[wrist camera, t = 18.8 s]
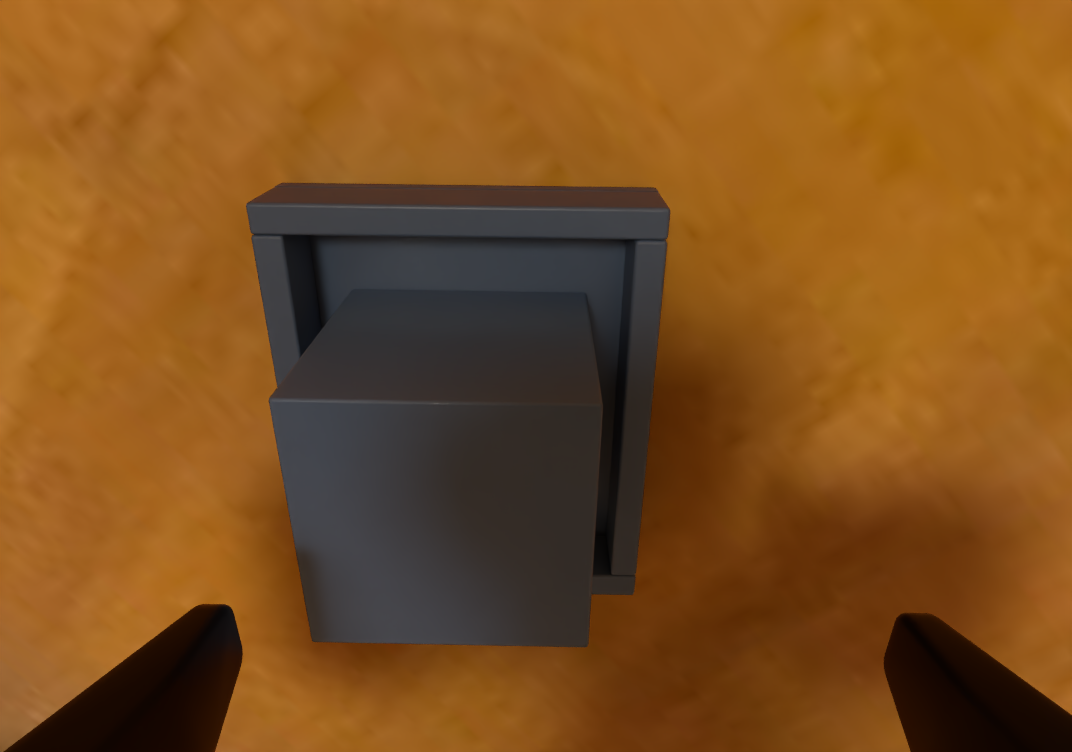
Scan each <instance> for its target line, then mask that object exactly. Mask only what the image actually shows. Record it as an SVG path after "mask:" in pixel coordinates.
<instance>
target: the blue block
mask: <svg viewBox="0 0 1072 752" xmlns="http://www.w3.org/2000/svg"><path fill="white" fill-rule="evenodd" d="M269 404H270V410H271V415H272V421H273V427H274V432H275V438H276V443H277V449H278V454H279V460H280V466H281V471H282V477H283V482H284V488H285V493H286V499H287V504H288V510H289V516H290V521H291V527H292V532H293V538H294V543H295V549H296V554H297V560H298V566H299V571H300V577H301V582H302V588H303V593H304V599H305V604H306V610H307V616H308V621H309V627H310V632H311V638H312V641H313V642H342V643H394V644H445V645H497V646H548V647H587V646H588V642H589V625H590V609H591V593H592V576H593V560H594V544H595V527H596V511H597V495H598V478H599V462H600V446H601V429H602V413H603V403H602V396H601V390H600V383H599V376H598V370H597V363H596V356H595V350H594V343H593V336H592V330H591V323H590V316H589V310H588V303H587V296H586V293H570V292H505V291H440V290H375V289H353V290H351V292H350V293H349V294H348V296H347V297H346V298H345V300H344V301H343V302H342V303H341V305H340V306H339V307H338V309H337V310H336V311H335V313H334V314H333V315H332V317H331V318H330V319H329V321H328V322H327V323H326V324H325V326H324V327H323V328H322V330H321V331H320V332H319V334H318V335H317V336H316V338H315V339H314V340H313V342H312V343H311V344H310V345H309V347H308V348H307V349H306V351H305V352H304V353H303V355H302V356H301V357H300V359H299V360H298V361H297V363H296V364H295V365H294V367H293V368H292V369H291V370H290V372H289V373H288V374H287V376H286V377H285V378H284V380H283V381H282V382H281V384H280V385H279V386H278V388H277V389H276V390H275V391H274V393H273V394H272V395H271V397H270V398H269Z"/></svg>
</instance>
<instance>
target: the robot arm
mask: <svg viewBox="0 0 1072 752" xmlns="http://www.w3.org/2000/svg"><path fill="white" fill-rule="evenodd" d="M242 655H243V653H242V644H241V640H240V637H239V633H238V629H237V625H236V621H235V617H234V613H233V610H232V609H231V607H230V606H228V605H225V604H201V605H198V606H196V607H194V608H193V609H191V610H190V611H189V612H187V613H186V614H185V615H183V616H182V617H181V618H179V619H178V620H177V621H175V622H174V623H173V624H171V625H170V626H169V627H167V628H166V629H165V630H164V631H162V632H161V633H160V634H158V635H157V636H156V637H154V638H153V639H152V640H150V641H149V642H148V643H146V644H145V645H144V646H142V647H141V648H140V649H138V650H137V651H136V652H134V653H133V654H132V655H131V656H129V657H128V658H127V659H125V660H124V661H123V662H121V663H120V664H119V665H117V666H116V667H115V668H113V669H112V670H111V671H109V672H108V673H107V674H105V675H104V676H103V677H102V678H100V679H99V680H98V681H96V682H95V683H94V684H92V685H91V686H90V687H88V688H87V689H86V690H84V691H83V692H82V693H80V694H79V695H78V696H76V697H75V698H74V699H72V700H71V701H70V702H69V703H67V704H66V705H65V706H63V707H62V708H61V709H59V710H58V711H57V712H55V713H54V714H53V715H51V716H50V717H49V718H47V719H46V720H45V721H43V722H42V723H41V724H39V725H38V726H37V727H36V728H34V729H33V730H32V731H30V732H29V733H28V734H26V735H25V736H24V737H22V738H21V739H20V740H18V741H17V742H16V743H14V744H13V745H12V746H10V747H9V748H8V749H6V750H5V751H4V752H215V749H216V746H217V743H218V739H219V736H220V733H221V730H222V726H223V723H224V720H225V716H226V713H227V710H228V707H229V703H230V700H231V697H232V694H233V690H234V687H235V684H236V680H237V677H238V674H239V671H240V667H241V663H242ZM884 670H885V674H886V678H887V681H888V684H889V687H890V690H891V693H892V696H893V699H894V702H895V705H896V708H897V711H898V715H899V718H900V721H901V724H902V727H903V730H904V733H905V736H906V739H907V742H908V745H909V748H910V751H911V752H1072V715H1071V714H1069V713H1068V712H1067V711H1065V710H1064V709H1063V708H1061V707H1060V706H1058V705H1057V704H1056V703H1054V702H1053V701H1052V700H1050V699H1049V698H1047V697H1046V696H1045V695H1043V694H1042V693H1041V692H1039V691H1038V690H1036V689H1035V688H1034V687H1032V686H1031V685H1030V684H1028V683H1027V682H1025V681H1024V680H1023V679H1021V678H1020V677H1019V676H1017V675H1016V674H1015V673H1013V672H1012V671H1010V670H1009V669H1008V668H1006V667H1005V666H1004V665H1002V664H1001V663H999V662H998V661H997V660H995V659H994V658H993V657H991V656H990V655H988V654H987V653H986V652H984V651H983V650H982V649H980V648H979V647H977V646H976V645H975V644H973V643H972V642H971V641H969V640H968V639H966V638H965V637H964V636H962V635H961V634H960V633H958V632H957V631H955V630H954V629H953V628H951V627H950V626H949V625H947V624H946V623H944V622H943V621H942V620H940V619H939V618H937V617H936V616H934V615H932V614H927V613H903V614H900V615H899V616H898V617H897V618H896V621H895V623H894V626H893V630H892V633H891V636H890V639H889V642H888V646H887V649H886V652H885V656H884Z"/></svg>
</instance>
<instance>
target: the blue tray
mask: <svg viewBox="0 0 1072 752" xmlns="http://www.w3.org/2000/svg"><path fill="white" fill-rule="evenodd" d="M246 207H247V213H248V219H249V225H250V230H251V233H252V234H254V235H252V243H253V249H254V255H255V261H256V266H257V272H258V278H259V284H260V289H261V295H262V301H263V307H264V312H265V318H266V324H267V330H268V335H269V341H270V347H271V353H272V359H273V364H274V370H275V376H276V382H277V387H278V386H279V385H280V384H281V382H282V381H283V380H284V378H285V377H286V376H287V374H288V373H289V372H290V370H291V369H292V368H293V367H294V365H295V364H296V363H297V361H298V360H299V359H300V357H301V356H302V355H303V353H304V352H305V351H306V349H307V348H308V347H309V345H310V344H311V343H312V342H313V340H314V339H315V338H316V336H317V335H318V334H319V332H320V331H321V330H322V328H323V327H324V326H325V324H326V323H327V322H328V321H329V319H330V318H331V317H332V315H333V314H334V313H335V311H336V310H337V309H338V307H339V306H340V305H341V303H342V302H343V301H344V300H345V298H346V297H347V296H348V294H349V293H350V292H351V290H353V289H375V290H440V291H505V292H570V293H586V296H587V303H588V310H589V316H590V323H591V330H592V336H593V343H594V350H595V356H596V363H597V370H598V376H599V383H600V390H601V396H602V403H603V413H602V429H601V446H600V462H599V478H598V495H597V511H596V527H595V544H594V560H593V576H592V593H591V594H609V595H633V593H634V589H635V578H636V576H635V573H636V568H637V557H638V546H639V536H640V525H641V515H642V504H643V494H644V483H645V473H646V462H647V452H648V441H649V431H650V420H651V409H652V399H653V388H654V378H655V367H656V357H657V346H658V336H659V325H660V315H661V304H662V294H663V283H664V273H665V262H666V251H667V242H666V240H665V239H667V237H668V230H669V220H670V209H669V207H668V206H667V204H666V203H665V202H664V200H663V199H662V197H661V196H660V194H659V193H658V191H657V189H656V188H638V187H560V186H481V185H402V184H324V183H281V184H279V185H277V186H275V188H273V189H271V190H269V191H267V192H266V193H264V194H262V195H260V196H259V197H257V198H255V199H253V200H252V201H250V202H248V203H247V205H246Z"/></svg>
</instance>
